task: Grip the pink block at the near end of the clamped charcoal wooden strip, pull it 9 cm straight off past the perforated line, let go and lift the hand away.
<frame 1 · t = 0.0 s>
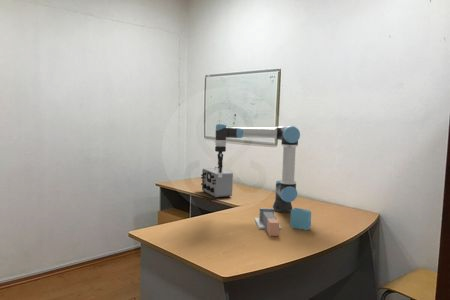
hand: (219, 175, 236), 28 cm above the table, tool pointing down, fingers open, 13 cm apart
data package: (300, 228, 211), on the table
pink block: (272, 227, 199), point 4 cm above the table, slide at 0.0 cm
vintage electronic device: (215, 194, 302), on the table
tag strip: (267, 225, 215), on the table
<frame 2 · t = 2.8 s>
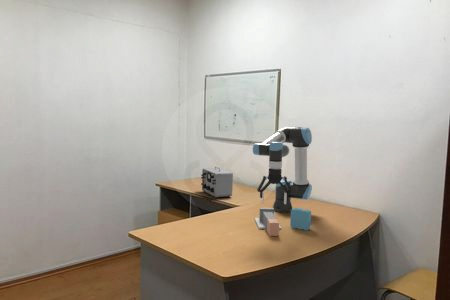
hand: (273, 203, 197), 19 cm above the table, tool pointing down, fingers open, 13 cm apart
nothing on the table moved.
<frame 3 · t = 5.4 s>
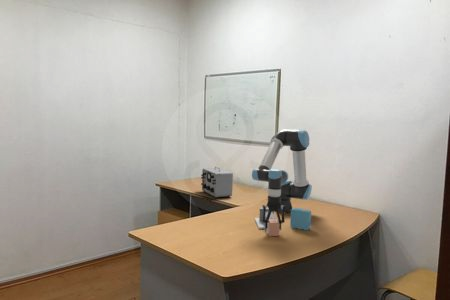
hand: (272, 233, 198), 0 cm above the table, tool pointing down, fingers closed on pink block, 6 cm apart
pink block: (272, 227, 199), point 4 cm above the table, slide at 0.0 cm, touching gripper
everything else where it was.
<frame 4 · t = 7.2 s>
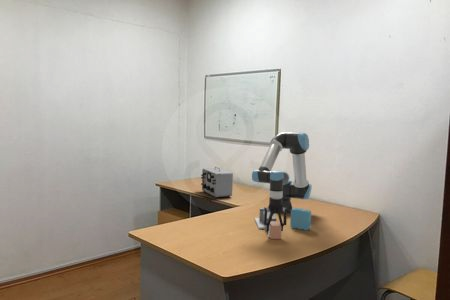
hand: (274, 236, 193), 0 cm above the table, tool pointing down, fingers closed on pink block, 6 cm apart
pink block: (274, 230, 193), point 4 cm above the table, slide at 5.1 cm, touching gripper
everything else where it was.
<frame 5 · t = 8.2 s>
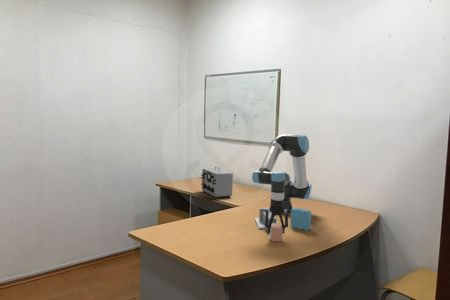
hand: (275, 238, 190), 0 cm above the table, tool pointing down, fingers closed on pink block, 6 cm apart
pink block: (275, 232, 190), point 4 cm above the table, slide at 8.9 cm, touching gripper
everything else where it was.
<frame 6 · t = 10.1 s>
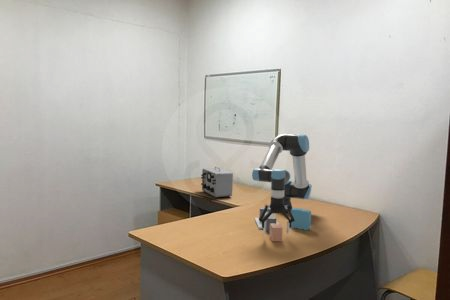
hand: (276, 233, 190), 4 cm above the table, tool pointing down, fingers open, 13 cm apart
pink block: (275, 232, 190), point 4 cm above the table, slide at 9.0 cm
everything else where it was.
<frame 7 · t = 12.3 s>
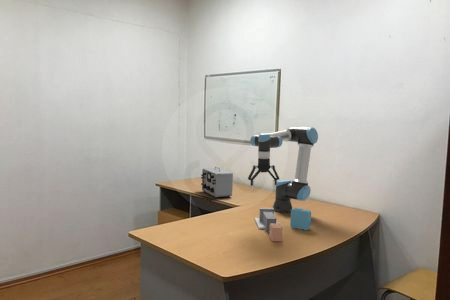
hand: (263, 190, 214), 23 cm above the table, tool pointing down, fingers open, 13 cm apart
nothing on the table moved.
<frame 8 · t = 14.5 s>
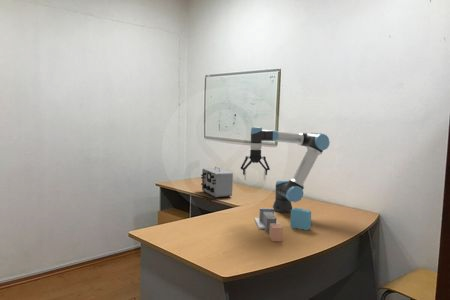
hand: (254, 179, 231), 27 cm above the table, tool pointing down, fingers open, 13 cm apart
nothing on the table moved.
at the end: pink block slide at 9.0 cm; the gripper is holding nothing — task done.
